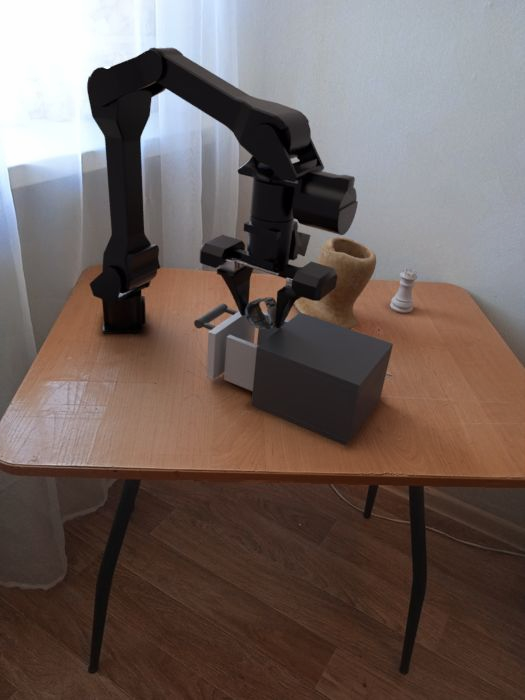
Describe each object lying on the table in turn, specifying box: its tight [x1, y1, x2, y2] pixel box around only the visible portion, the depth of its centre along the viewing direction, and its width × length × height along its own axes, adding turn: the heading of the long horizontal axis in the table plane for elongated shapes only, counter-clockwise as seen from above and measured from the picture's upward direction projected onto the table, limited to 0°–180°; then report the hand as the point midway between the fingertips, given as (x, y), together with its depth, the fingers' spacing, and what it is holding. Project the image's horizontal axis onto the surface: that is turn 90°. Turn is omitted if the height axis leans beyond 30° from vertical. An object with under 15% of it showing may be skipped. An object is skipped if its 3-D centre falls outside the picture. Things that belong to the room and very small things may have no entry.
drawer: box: [193, 302, 290, 392], centre depth 83 cm, size 18×12×8 cm, turn 60°
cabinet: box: [250, 312, 394, 446], centre depth 79 cm, size 15×13×10 cm
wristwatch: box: [245, 296, 277, 332], centre depth 80 cm, size 3×5×5 cm
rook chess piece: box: [389, 268, 418, 314], centre depth 108 cm, size 4×4×8 cm
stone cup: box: [293, 236, 377, 330], centre depth 101 cm, size 15×12×15 cm
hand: (261, 321), depth 80 cm, fingers closed on wristwatch, 5 cm apart
